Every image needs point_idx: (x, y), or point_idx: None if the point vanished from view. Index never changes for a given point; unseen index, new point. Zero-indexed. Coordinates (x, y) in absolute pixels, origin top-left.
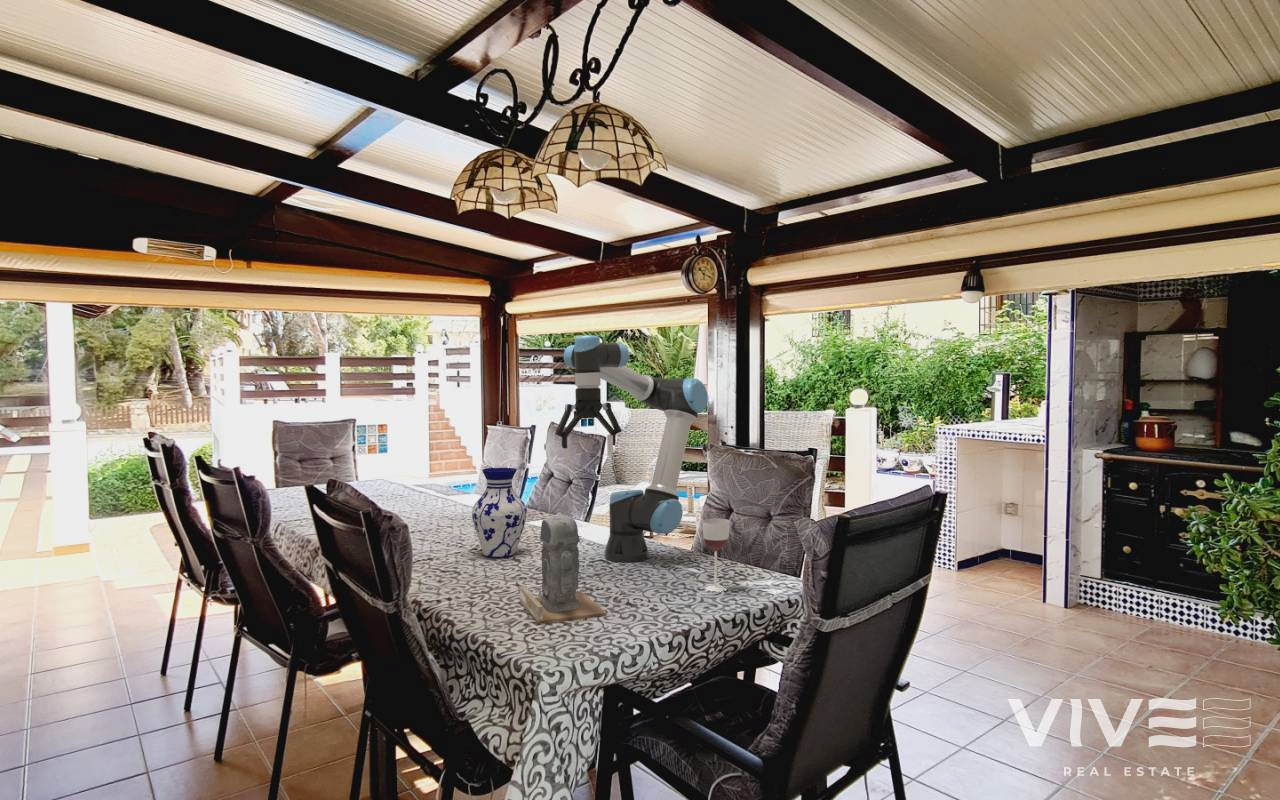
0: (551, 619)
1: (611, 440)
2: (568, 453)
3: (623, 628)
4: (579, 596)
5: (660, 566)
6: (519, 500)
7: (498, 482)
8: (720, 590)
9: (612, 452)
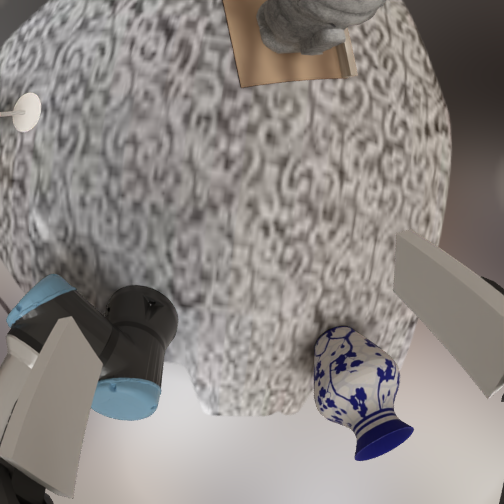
0: None
1: (18, 415)
2: (435, 251)
3: None
4: (250, 63)
5: (87, 254)
6: (338, 404)
7: (387, 417)
8: (22, 100)
9: (50, 339)
